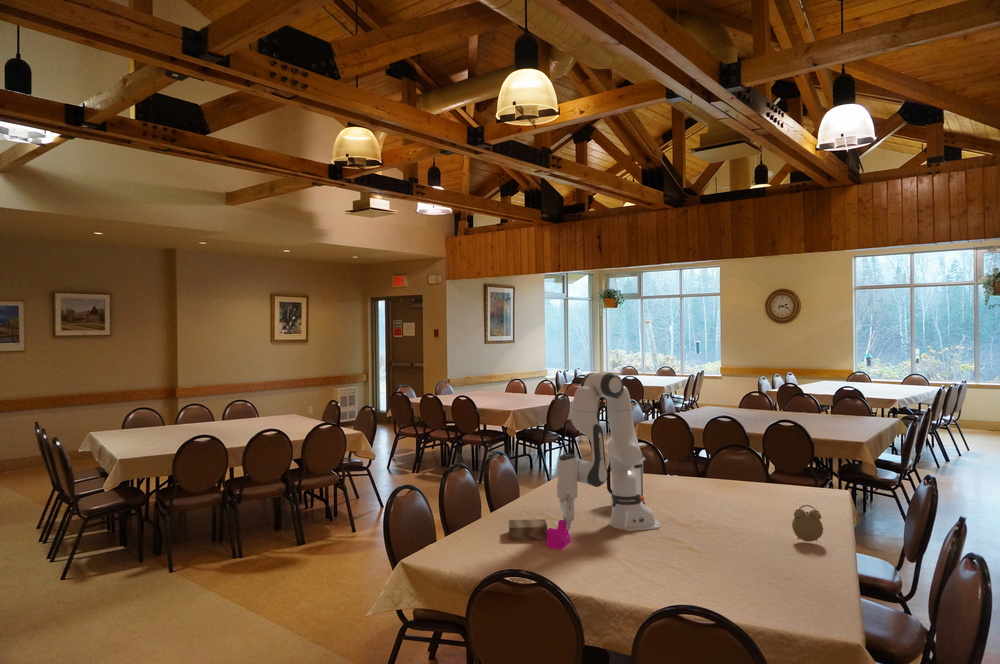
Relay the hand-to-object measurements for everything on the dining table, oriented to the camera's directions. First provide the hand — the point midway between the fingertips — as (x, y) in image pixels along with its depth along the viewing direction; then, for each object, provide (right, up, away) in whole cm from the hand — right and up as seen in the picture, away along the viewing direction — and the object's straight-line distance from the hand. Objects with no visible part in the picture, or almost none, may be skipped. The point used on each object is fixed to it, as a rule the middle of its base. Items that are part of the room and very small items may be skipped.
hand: (566, 525), depth 265 cm
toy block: (-3, -6, -8) cm, 10 cm away
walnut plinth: (-17, -6, +1) cm, 18 cm away
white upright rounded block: (+37, -5, +50) cm, 63 cm away
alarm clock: (+98, -4, -10) cm, 99 cm away
